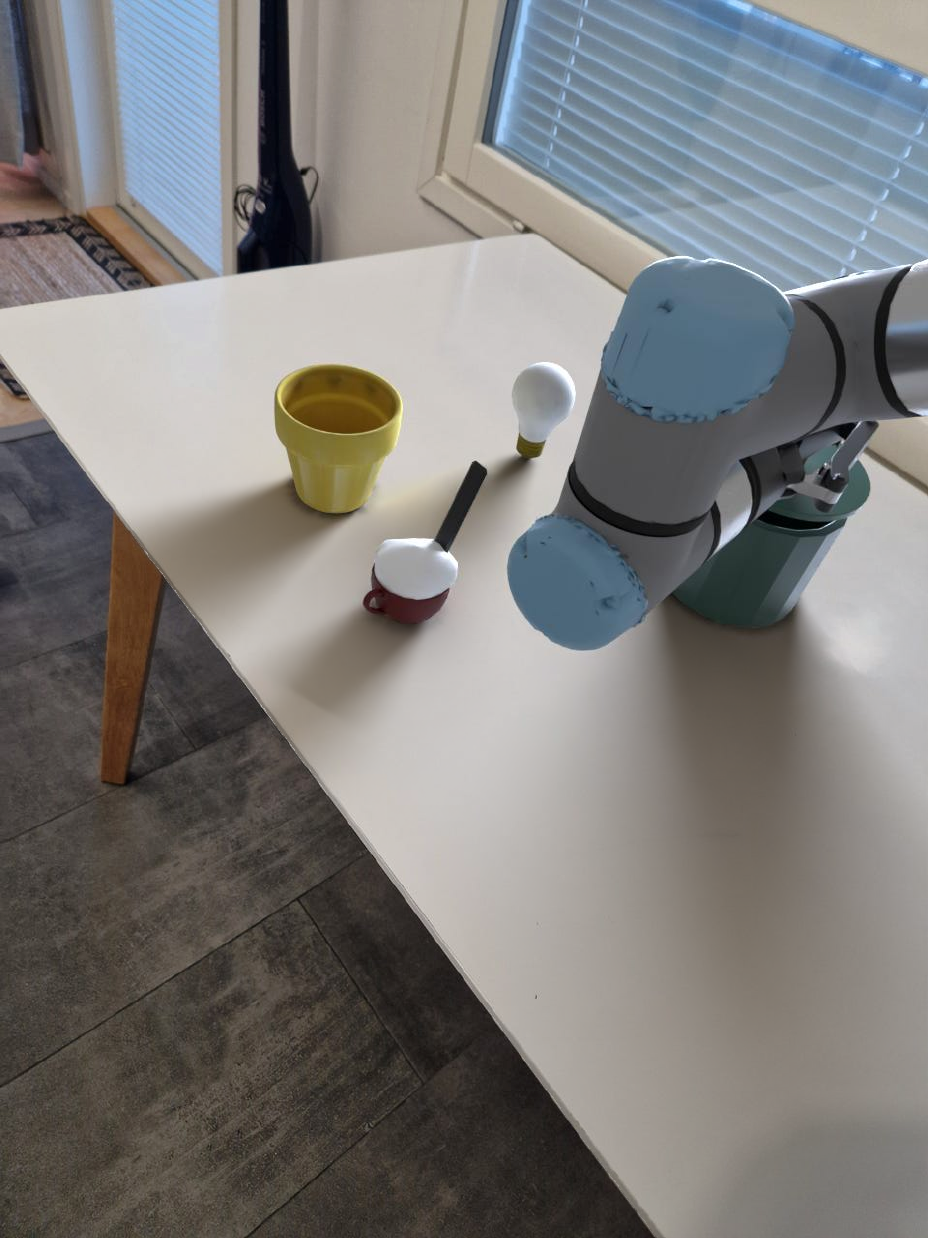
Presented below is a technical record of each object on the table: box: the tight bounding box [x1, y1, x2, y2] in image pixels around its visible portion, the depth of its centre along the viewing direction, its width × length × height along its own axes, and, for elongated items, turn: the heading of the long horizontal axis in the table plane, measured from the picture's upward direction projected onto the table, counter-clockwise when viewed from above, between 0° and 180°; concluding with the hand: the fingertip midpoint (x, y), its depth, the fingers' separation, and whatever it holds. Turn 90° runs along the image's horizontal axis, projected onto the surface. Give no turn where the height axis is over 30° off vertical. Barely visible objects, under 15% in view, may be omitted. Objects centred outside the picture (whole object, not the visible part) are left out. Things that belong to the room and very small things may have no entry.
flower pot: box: [273, 363, 404, 514], centre depth 74 cm, size 10×10×10 cm
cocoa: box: [362, 460, 488, 624], centre depth 65 cm, size 10×6×12 cm, turn 109°
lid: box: [767, 442, 871, 521], centre depth 66 cm, size 14×14×10 cm
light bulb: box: [511, 361, 576, 460], centre depth 82 cm, size 6×6×10 cm
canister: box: [671, 510, 849, 629], centre depth 74 cm, size 13×13×10 cm
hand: (849, 374), depth 68 cm, fingers closed on lid, 3 cm apart
